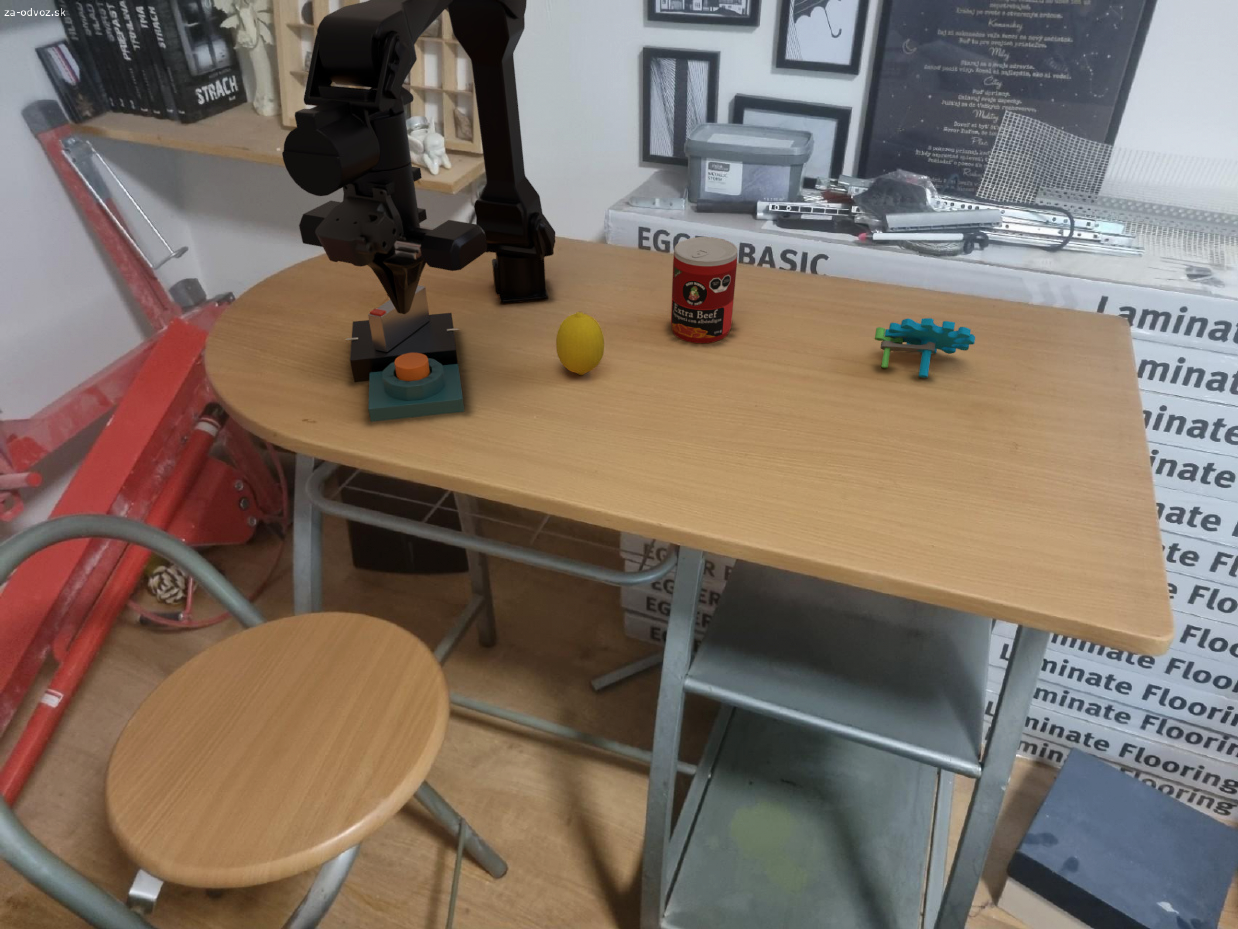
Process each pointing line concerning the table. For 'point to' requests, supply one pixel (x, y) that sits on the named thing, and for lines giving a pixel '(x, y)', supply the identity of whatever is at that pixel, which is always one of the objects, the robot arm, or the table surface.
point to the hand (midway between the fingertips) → (404, 312)
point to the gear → (923, 340)
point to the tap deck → (402, 346)
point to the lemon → (580, 343)
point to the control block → (415, 393)
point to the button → (412, 367)
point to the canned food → (703, 289)
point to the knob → (397, 321)
